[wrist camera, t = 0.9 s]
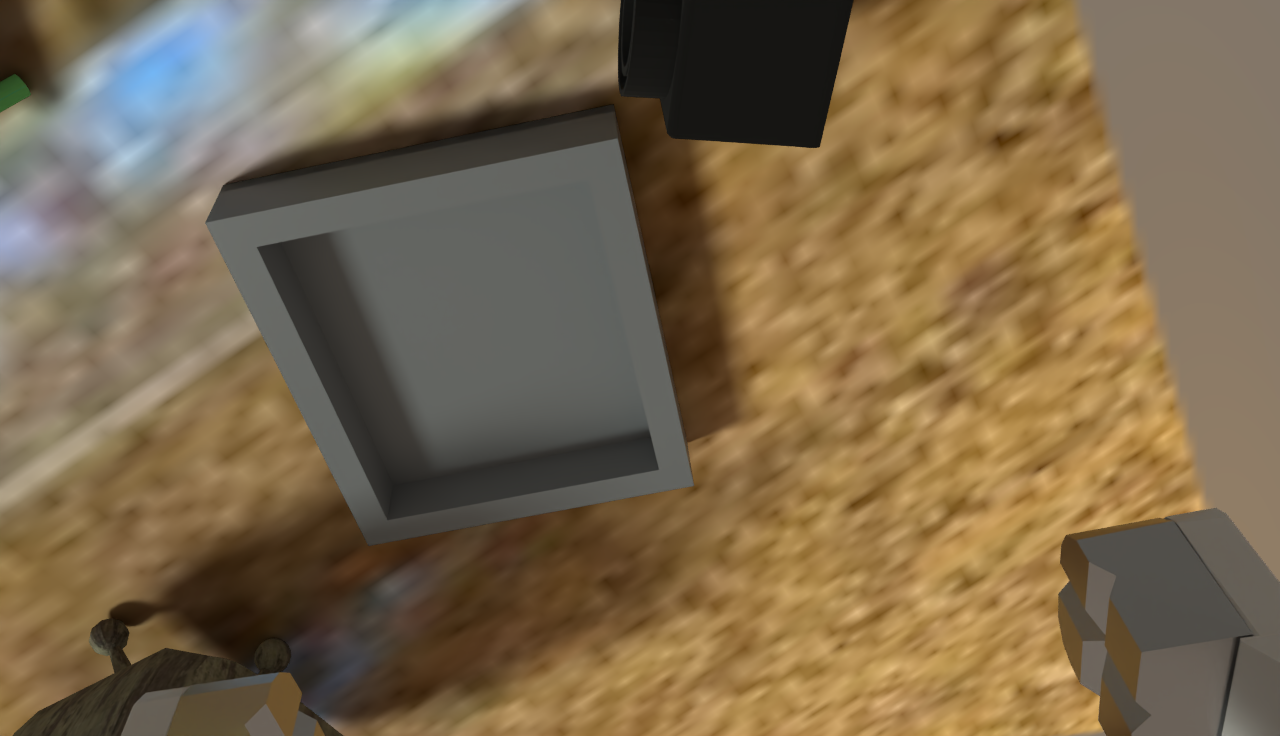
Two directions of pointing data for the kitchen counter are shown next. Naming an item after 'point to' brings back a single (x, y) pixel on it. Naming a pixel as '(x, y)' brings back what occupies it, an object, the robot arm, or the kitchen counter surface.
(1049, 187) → the kitchen counter surface
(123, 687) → the tabletop clock
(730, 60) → the digital camera
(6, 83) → the blue lumpy piece
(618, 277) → the tray
